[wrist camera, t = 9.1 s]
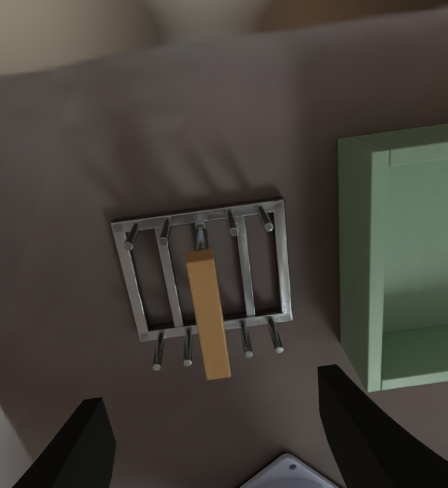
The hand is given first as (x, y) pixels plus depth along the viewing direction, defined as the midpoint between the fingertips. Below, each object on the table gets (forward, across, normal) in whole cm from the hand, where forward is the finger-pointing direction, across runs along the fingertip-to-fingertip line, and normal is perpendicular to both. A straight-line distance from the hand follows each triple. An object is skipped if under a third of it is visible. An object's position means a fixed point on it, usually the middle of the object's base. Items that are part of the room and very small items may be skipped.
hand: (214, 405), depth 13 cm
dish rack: (+9, 0, -1) cm, 9 cm away
